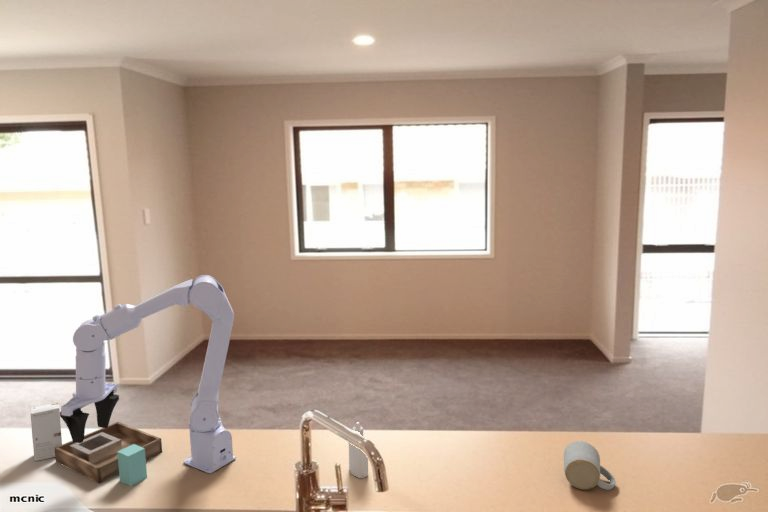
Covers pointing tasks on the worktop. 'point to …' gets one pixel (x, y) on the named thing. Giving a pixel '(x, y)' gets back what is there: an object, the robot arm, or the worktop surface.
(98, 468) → the walnut tray
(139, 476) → the teal plug
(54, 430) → the skincare box
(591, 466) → the ceramic mug
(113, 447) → the metal socket
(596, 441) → the worktop surface
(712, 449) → the worktop surface
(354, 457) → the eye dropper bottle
